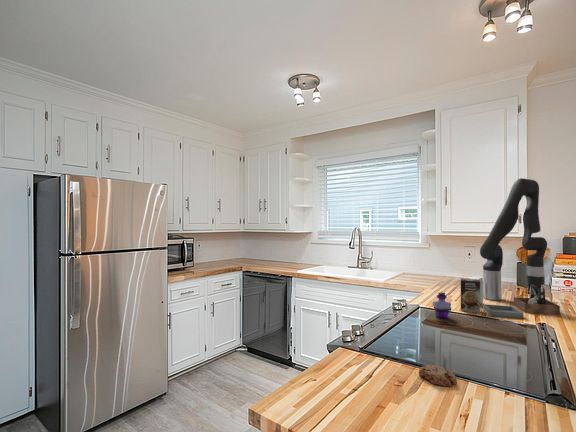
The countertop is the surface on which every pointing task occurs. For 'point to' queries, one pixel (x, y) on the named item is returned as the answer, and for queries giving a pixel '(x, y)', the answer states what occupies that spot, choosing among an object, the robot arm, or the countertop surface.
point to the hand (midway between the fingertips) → (536, 305)
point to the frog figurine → (532, 300)
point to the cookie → (438, 375)
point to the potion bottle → (442, 306)
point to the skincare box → (480, 286)
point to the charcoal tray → (503, 311)
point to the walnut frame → (537, 306)
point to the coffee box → (470, 295)
